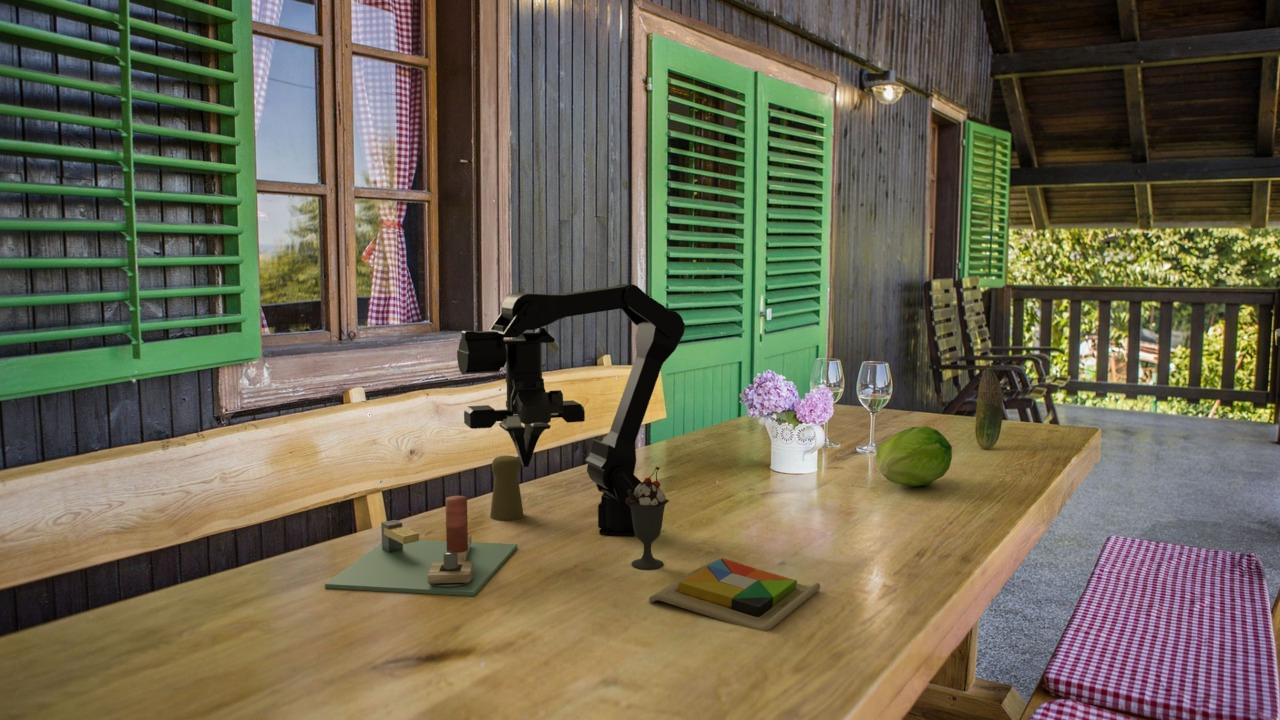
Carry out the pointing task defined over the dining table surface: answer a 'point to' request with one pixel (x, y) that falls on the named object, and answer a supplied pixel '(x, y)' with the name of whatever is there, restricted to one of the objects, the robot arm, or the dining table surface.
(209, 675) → the dining table surface
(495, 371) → the robot arm
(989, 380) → the vegetable
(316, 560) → the dining table surface
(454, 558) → the pintle
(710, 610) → the wooden puzzle
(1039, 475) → the dining table surface
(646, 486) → the sundae
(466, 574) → the latch bar
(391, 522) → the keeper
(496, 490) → the cork
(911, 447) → the green oval lump
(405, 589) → the latch board
